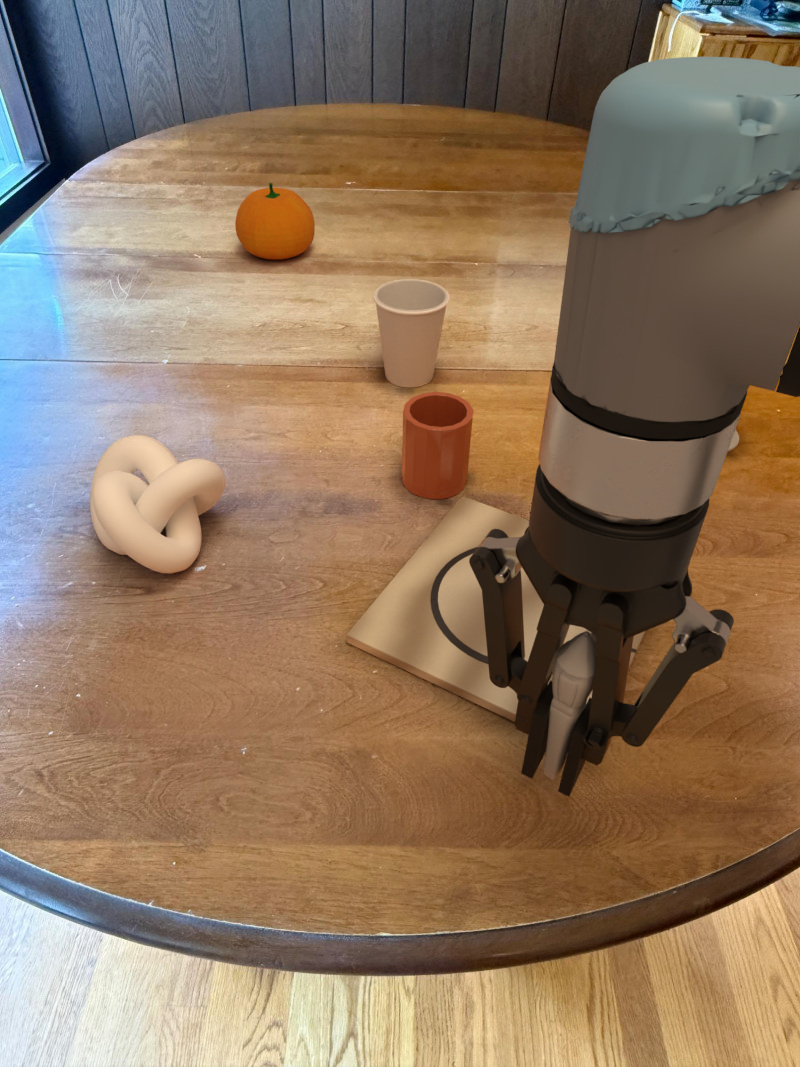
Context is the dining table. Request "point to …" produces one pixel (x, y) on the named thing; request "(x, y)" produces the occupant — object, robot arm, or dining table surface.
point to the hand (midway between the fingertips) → (553, 768)
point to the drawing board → (450, 611)
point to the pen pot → (436, 444)
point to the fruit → (274, 223)
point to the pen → (568, 697)
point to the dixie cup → (410, 329)
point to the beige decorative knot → (152, 502)
